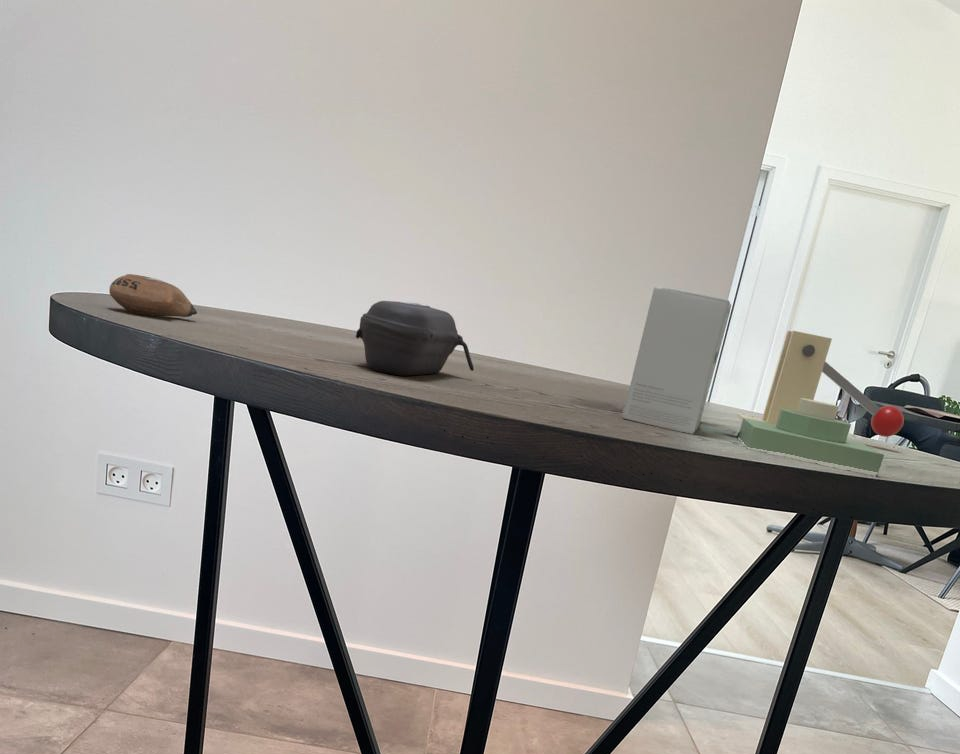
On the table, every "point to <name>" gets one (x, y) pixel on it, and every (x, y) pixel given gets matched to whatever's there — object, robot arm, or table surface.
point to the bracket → (795, 373)
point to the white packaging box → (676, 359)
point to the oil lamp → (150, 297)
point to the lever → (870, 406)
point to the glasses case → (408, 338)
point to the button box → (810, 440)
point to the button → (817, 409)
